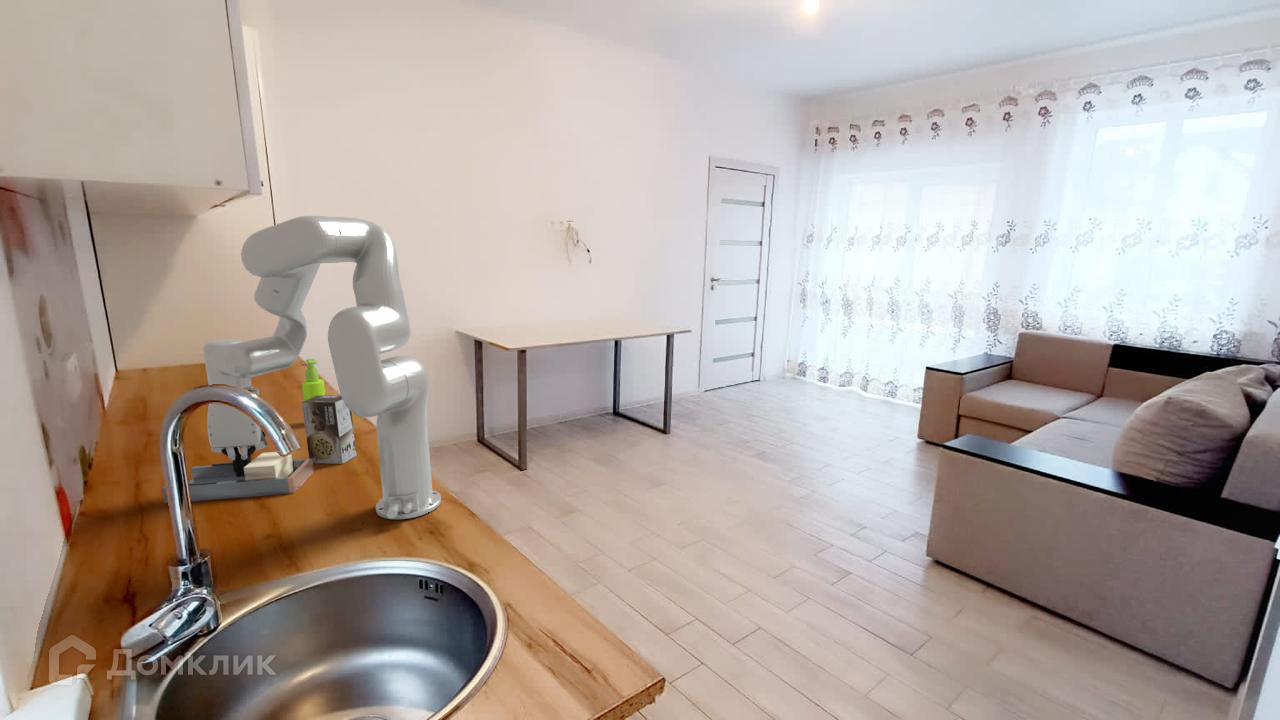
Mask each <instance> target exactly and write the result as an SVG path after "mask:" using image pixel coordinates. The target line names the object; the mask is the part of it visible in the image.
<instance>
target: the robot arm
mask: <svg viewBox="0 0 1280 720" xmlns="http://www.w3.org/2000/svg"><path fill="white" fill-rule="evenodd" d="M240 252H241V253H240V256H241V262H242V264H243V266H244V268H245V269H246V271H247V272H248V273H249V274H251V275H253V276H255V277H258V278H260V279H259V280H258V281H259V282H258V284H257V287H256V289H255V291H254V294H253V299H254V302H255V304H257V305H258V307H259V308H261V309H263V310H264V311H266V312H268V313H270V314H271V315H275V316H277V317H278V318H279V320H278V322H277V325H276V328H275V330H274V333H273V334H272V336H267V337H263V338H258V339H257V338H255V339H252V340H247V341H244V340H243V339H242V340H241V339H238V338H222V339H214V340H210V341H207V342H205V344H204V345H203V348H202V349H203V356H204V358H203V359H204V364H205V372H206V377H207V378H206V379H207V383H208V386H209V385H212V384H227V385H233V386H237V387H240V388H243V389H245V390H248V391H250V392H252V393H255V394H256V395H257V396H259V395H260V389H255V388H254V385H252V379H251V378H254V377H258V376H262V375H265V374H270V373H273V372H277V371H281V370H285V369H287V368H289V367H291V366H292V365H293V364H294V363H295V362H296V361H297V359H298V358H299V356H300V354H301V352H302V350H303V348H304V345H305V343H306V341H307V337H308V327H307V321H306V317H305V315H304V313H303V312H302V308H303V305H304V303H305V300H306V297H307V296H308V293H309V291H310V290H311V287H312V284H313V283H314V280H315V277H316V275H317V273H318V271H319V269H320V266H321V264H337V263H338V264H339V263H355V264H356V266H355V267H354V270H353V275H352V290H353V293H354V297H355V298H354V299H355V303H356V304H355V305H356V306H350V307H346V308H345V309H342V310H340V311H338V312H337V313H335V315H334V316H333V317H332V319H331V321H330V323H329V326H328V330H327V341H328V342H327V343H328V348H329V351H330V352H329V353H330V356H331V360H332V365H333V369H334V372H335V373H334V374H335V377H336V382H337V385H338V389H339V393H340V396H341V397H342V399H343V401H344V403H345V405H346V406H347V408H348V409H349V410H350V411H351V412H352V414H354V415H355V416H357V417H361V418H373V417H377V418H376V430H375V431H376V441H377V443H376V444H377V451H378V452H377V453H378V461H379V471H380V480H381V490H382V498H380V499H379V501H378V502H376V504H375V513H376V514H377V516H379V517H381V518H384V519H388V520H405V519H413V518H418V517H421V516H424V515H426V514H429V513H430V512H433V511H434V510H435V509H437V508H438V507H439V506H440V504H441V503H442V496H441V493H439V491H436V490H434V489H433V482H432V481H433V479H432V469H431V467H432V466H431V458H430V445H429V429H428V418H427V417H428V416H427V403H428V395H429V382H430V381H429V376H428V375H429V374H428V371H427V370H426V368H425V366H424V365H423V363H421V361H419V360H418V359H416V358H414V357H411V356H408V355H397V356H392V357H389V358H388V357H387V358H385V359H381V354H385V353H389V352H392V351H394V350H398V349H400V348H402V347H403V346H405V345H406V344H407V343H408V341H410V338H411V326H410V321H409V316H408V310H407V306H406V302H405V300H406V299H405V297H404V292H403V287H402V283H401V279H400V273H399V265H398V256H397V255H398V254H397V251H396V247H395V244H394V241H393V239H392V237H391V236H390V234H389V233H388V232H387V231H386V230H385V229H384V228H383V227H381V226H380V225H378V224H376V223H374V222H371V220H370V221H369V220H365V219H361V218H357V217H356V218H355V217H346V216H345V217H343V216H323V215H321V216H320V215H303V216H298V217H294V218H291V219H288V220H284V221H283V222H279V223H277V224H275V225H274V224H273V225H270V226H269V227H265V228H262V229H260V230H258V231H255V232H253V233H252V234H251V235H250V236H248V238H247V239H245V241H244V243H243V244H242V246H241V251H240ZM206 416H207V418H206V420H207V422H206V423H207V424H206V425H207V435H208V441H209V444H210V446H211V449H210V450H211V452H213V453H220V454H221V453H222V454H224V455H225V456H226V457H228V459H229V460H230V461H232V462H233V468H234V472H236V477H240V476H242V477H245V474H244V467H245V466H247V465H248V464H249V463H250V462H252V455H253V454H254V453H255V452H256V451H260V450H263V449H266V448H267V447H268V441H267V440H266V439H267V438H268V437H267V436H266V434H265V433H264V432H263V431H262V430H261V428H260V427H259V426H258V425H257V424H256V423H255V422H254V421H253V420H252V419H251V418H250V417H248V416H247V415H245V414H244V413H242V412H241V411H239V410H237V409H235V408H234V407H231V406H228V405H224V404H220V403H213V404H210V403H208V407H207V415H206ZM428 512H429V513H428Z"/></svg>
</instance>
